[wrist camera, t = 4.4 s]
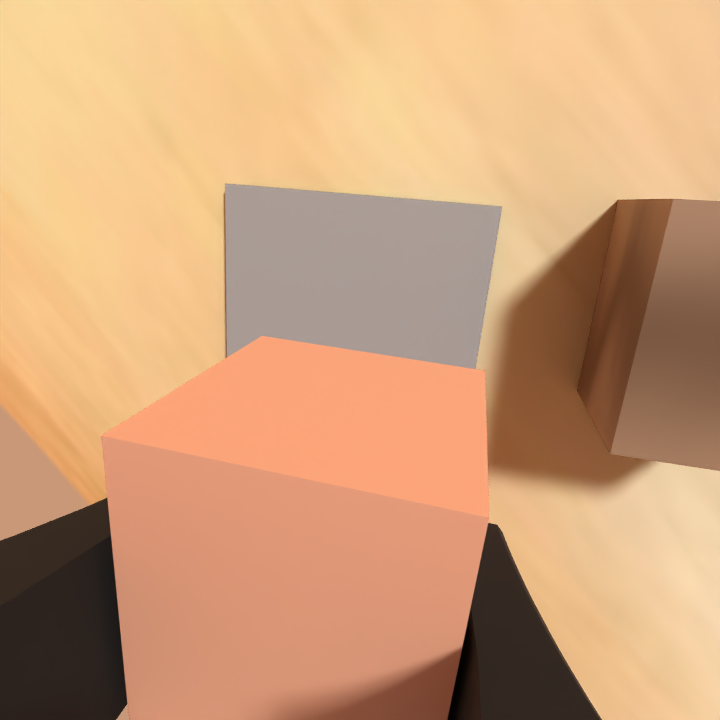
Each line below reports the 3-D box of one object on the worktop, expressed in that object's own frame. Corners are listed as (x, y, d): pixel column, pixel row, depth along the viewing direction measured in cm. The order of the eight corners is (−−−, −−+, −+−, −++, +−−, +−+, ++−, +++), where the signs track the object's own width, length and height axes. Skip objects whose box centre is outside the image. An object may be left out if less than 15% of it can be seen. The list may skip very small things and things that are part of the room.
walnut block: (724, 408, 15) (816, 485, 11) (576, 389, 16) (610, 454, 12) (788, 209, 13) (927, 212, 9) (617, 199, 14) (673, 198, 10)
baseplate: (455, 487, 18) (454, 493, 18) (232, 444, 20) (227, 448, 20) (501, 206, 15) (501, 206, 15) (230, 184, 17) (225, 183, 16)
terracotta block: (439, 620, 11) (414, 877, 7) (256, 574, 12) (134, 778, 8) (485, 370, 9) (489, 518, 5) (262, 335, 10) (101, 436, 6)
